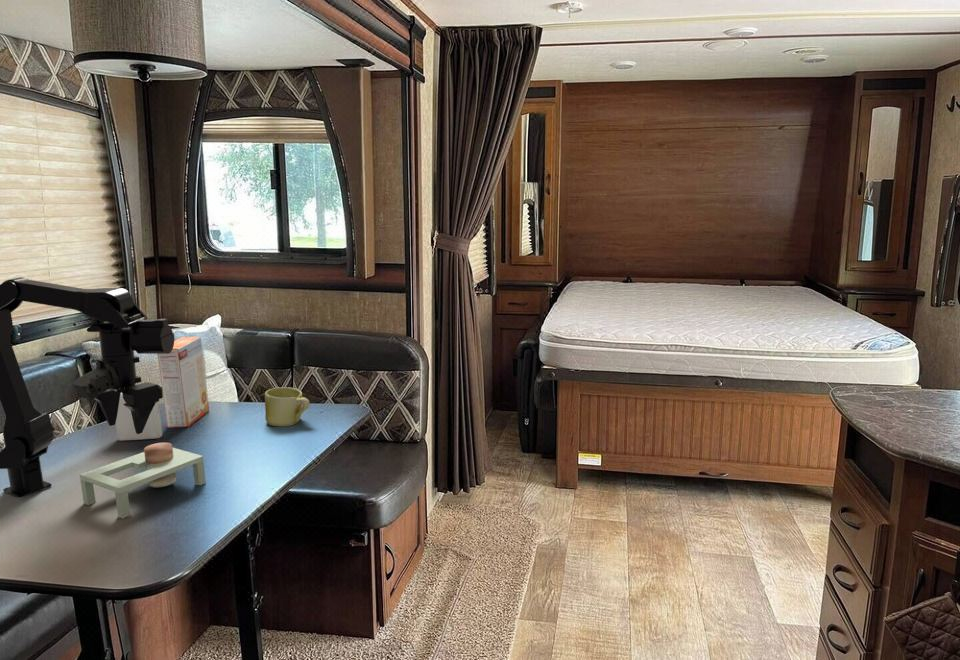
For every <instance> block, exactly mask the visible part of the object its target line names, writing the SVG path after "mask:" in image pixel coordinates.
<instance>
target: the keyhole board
mask: <svg viewBox="0 0 960 660" xmlns="http://www.w3.org/2000/svg"><path fill="white" fill-rule="evenodd" d="M172 448H173V458H172V459H171V460H169V461H167V462H163V463H158V464H149V463H146V461H145V453H144V451H143V452H140V453H138V454H134V455H132V456H127V457H126V458H123V459H119V460H117V461H115V462H112V463H108V464H106V465H103V466H100V467H98V468H94V469H92V470H89V471H85V472H82V473H80V474H79V479H80V487H81V493H82V500H83V504H84V505H86V506H90V505H92V504H95V503H97V501H96V496H95V495H96V494H95V488H94V485H95V486H98V487H101V488H104V489H107V490H109V491H112V492H114V494H115V502H116V509H117V517H118V518H120V517H121V518H120V519H126V518H128V517H131V508H130V502H129V493H128V491H130V490H132V489H134V488H137V487H139V486H143V485H145V484H148V482H150V481H152V480H155V479H158V478H160V477H163V476H165V475H168V474H170V473H173V472H174V473H175V472H178V471H180V470H183V469H185V468H188V467H191V466H192V470H193V471H192V473H193V479H194V485H195V484H197V485H201V486H203V485H202V484H204V485H206V484H207V482H206V472H205V464H204V456H203V455H202V454H201V455H200V454H197V453H194V452H190V451H187V450H183V449H180V448H176V447H172ZM131 468H136V469H138V470H140V469H142V468H145V471H144V470H143V471H142V472H139V473H136V474H133V475H131V476H129V477H126V478H123V479H121V480H120V479H117V478H114V477H111V476H112V475H115V474H117V473H121V472H123V471H125V470H129V469H131ZM205 483H206V484H205ZM197 485H196V486H197ZM127 516H128V517H127ZM125 517H126V518H125Z"/></svg>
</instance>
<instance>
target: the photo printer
mask: <svg viewBox="0 0 960 660" xmlns="http://www.w3.org/2000/svg"><path fill="white" fill-rule="evenodd" d="M125 403H126V402H125V401H124V399H123V394H122V393H121V394H120V400H119V407H118V413H117V419H116V423H115V427H116V434H117V435H116V436H117V440H118V441H119V442H120V441H121V442H123V441H138V440H153V439H160V438H161V437H162V436H163V429H162V428H163V427H162V420H161V414H160V413H161V412H160V406H159V401H158V402H156V404H155V405H154V407H153V409H152V411H151V413H150V416H149V418H148V420H147V423H146V425H145V427H144V430H143V432H142V433H140V434H136V431H135V428H134V423H133V418H132V414H131V410H130V409H129V408H127V407H126V406H124V405H123V404H125Z"/></svg>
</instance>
